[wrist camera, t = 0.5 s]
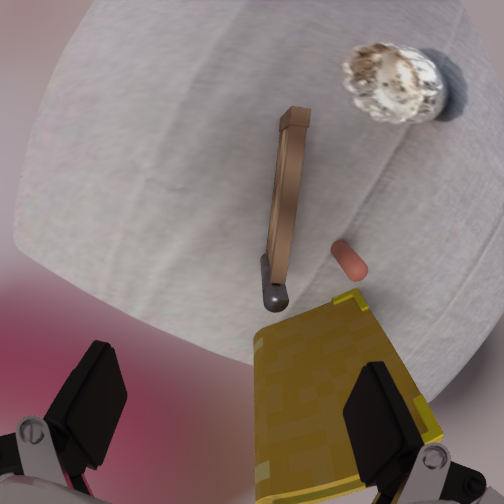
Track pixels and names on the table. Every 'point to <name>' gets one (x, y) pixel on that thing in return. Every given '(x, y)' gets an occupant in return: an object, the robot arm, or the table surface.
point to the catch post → (349, 261)
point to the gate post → (272, 289)
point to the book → (319, 400)
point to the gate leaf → (286, 190)
